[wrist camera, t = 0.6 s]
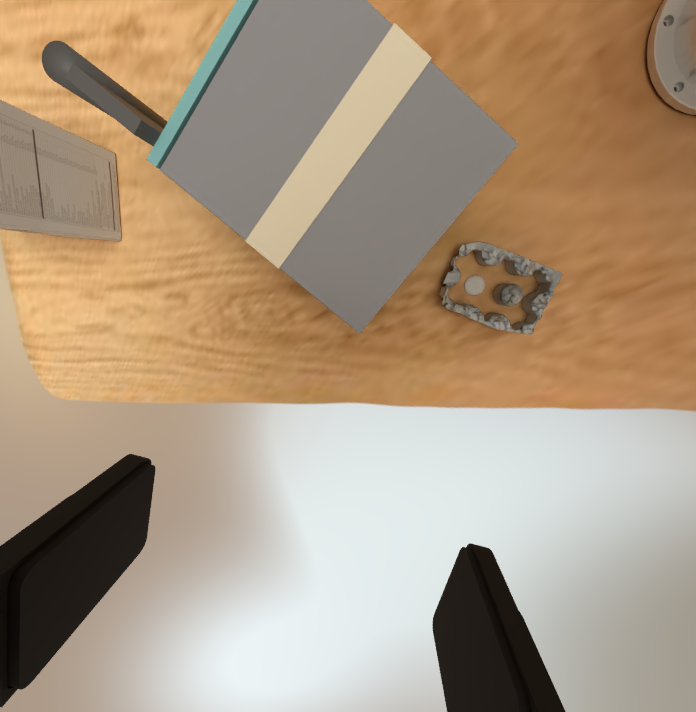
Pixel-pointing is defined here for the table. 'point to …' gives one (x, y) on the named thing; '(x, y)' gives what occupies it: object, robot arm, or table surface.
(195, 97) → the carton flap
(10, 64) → the table surface
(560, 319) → the table surface
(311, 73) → the carton
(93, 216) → the supplement box
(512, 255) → the egg carton
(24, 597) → the robot arm
